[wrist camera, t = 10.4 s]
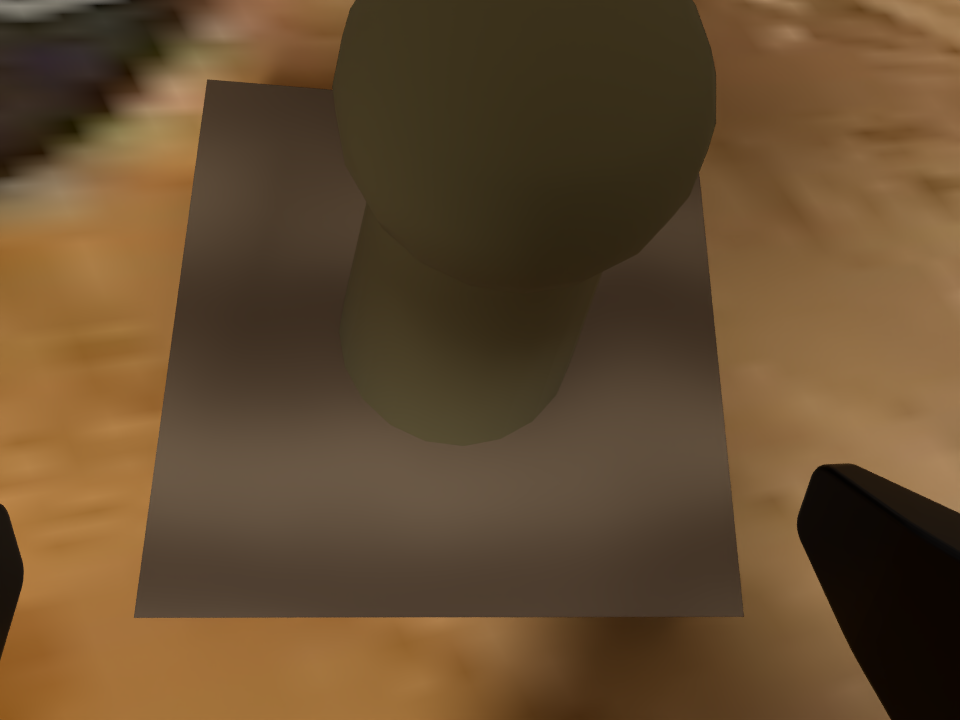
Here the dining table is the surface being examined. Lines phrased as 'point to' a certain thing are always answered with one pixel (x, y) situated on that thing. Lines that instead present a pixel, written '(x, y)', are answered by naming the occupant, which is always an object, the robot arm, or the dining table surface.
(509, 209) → the cork
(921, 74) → the dining table surface
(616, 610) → the walnut plinth
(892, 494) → the robot arm
